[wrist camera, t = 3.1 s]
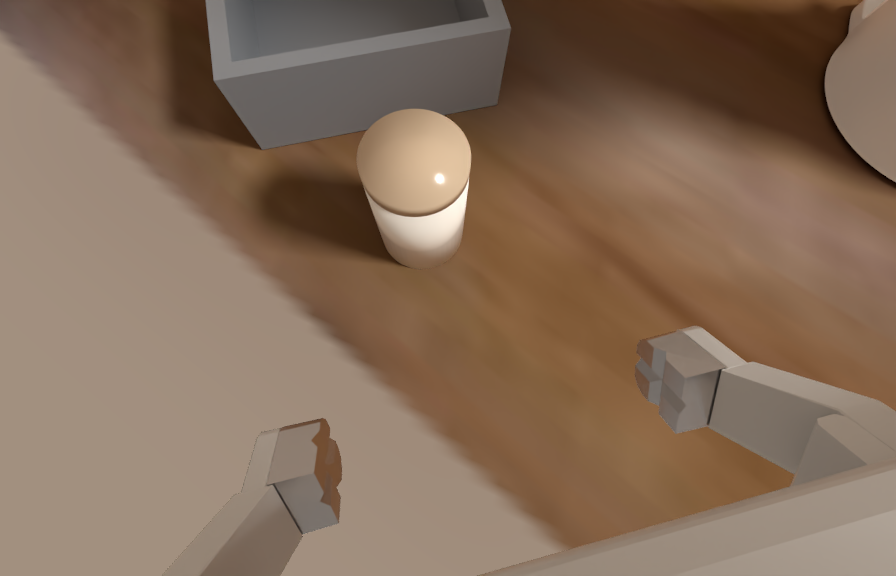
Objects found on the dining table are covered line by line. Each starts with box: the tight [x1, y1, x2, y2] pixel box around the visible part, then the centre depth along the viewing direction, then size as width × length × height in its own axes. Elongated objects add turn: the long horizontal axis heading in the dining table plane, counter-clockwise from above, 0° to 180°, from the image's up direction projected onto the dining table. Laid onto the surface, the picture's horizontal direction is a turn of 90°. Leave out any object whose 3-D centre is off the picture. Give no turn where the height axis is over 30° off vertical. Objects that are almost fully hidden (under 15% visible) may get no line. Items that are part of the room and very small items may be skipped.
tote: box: [206, 0, 511, 150], centre depth 27 cm, size 16×13×6 cm
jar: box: [357, 109, 471, 269], centre depth 22 cm, size 5×5×8 cm
